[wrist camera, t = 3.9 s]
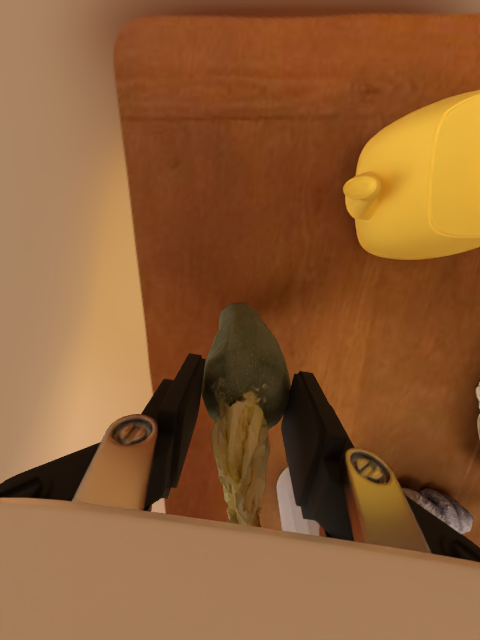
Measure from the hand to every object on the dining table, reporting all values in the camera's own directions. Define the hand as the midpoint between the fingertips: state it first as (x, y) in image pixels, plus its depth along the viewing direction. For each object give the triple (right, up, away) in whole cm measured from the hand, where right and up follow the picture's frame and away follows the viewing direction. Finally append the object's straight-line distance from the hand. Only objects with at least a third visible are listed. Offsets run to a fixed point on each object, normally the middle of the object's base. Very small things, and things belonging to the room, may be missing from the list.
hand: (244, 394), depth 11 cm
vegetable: (0, +4, +14) cm, 15 cm away
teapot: (+15, +15, +12) cm, 24 cm away
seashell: (+25, -21, +23) cm, 39 cm away
